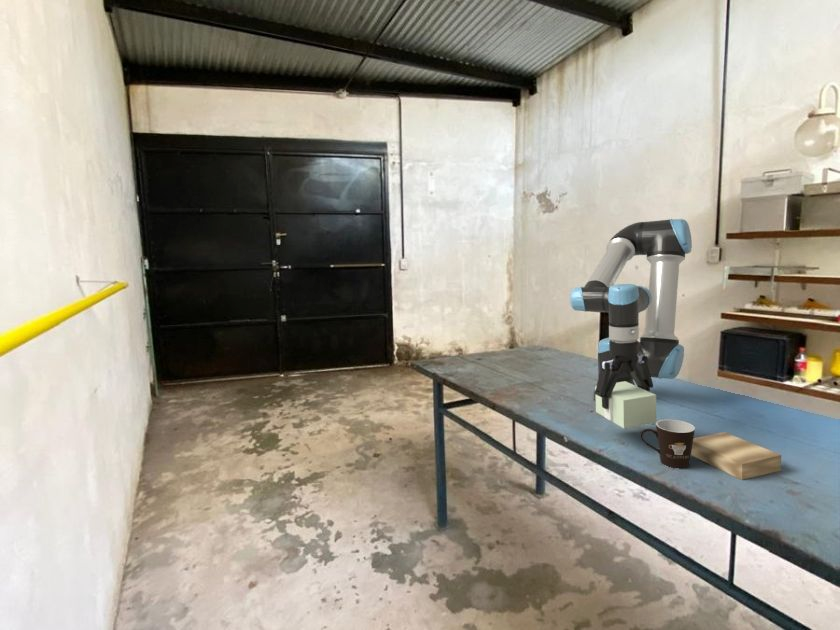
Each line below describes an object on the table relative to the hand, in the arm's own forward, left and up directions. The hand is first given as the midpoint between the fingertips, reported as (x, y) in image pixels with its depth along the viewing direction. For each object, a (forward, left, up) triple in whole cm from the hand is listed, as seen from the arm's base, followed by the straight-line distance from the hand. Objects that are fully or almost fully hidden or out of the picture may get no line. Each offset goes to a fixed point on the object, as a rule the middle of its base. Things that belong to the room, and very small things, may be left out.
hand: (624, 415), depth 129 cm
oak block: (+20, +15, -8) cm, 27 cm away
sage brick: (0, 0, 0) cm, 0 cm away
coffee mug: (+14, +1, -8) cm, 16 cm away
